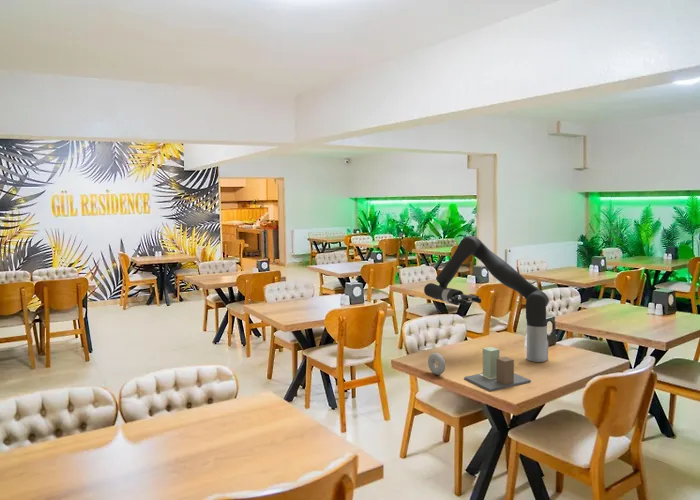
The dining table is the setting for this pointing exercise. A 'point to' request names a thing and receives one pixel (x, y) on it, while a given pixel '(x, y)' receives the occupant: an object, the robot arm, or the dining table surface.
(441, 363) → the donut
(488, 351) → the green pillar
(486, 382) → the build plate
